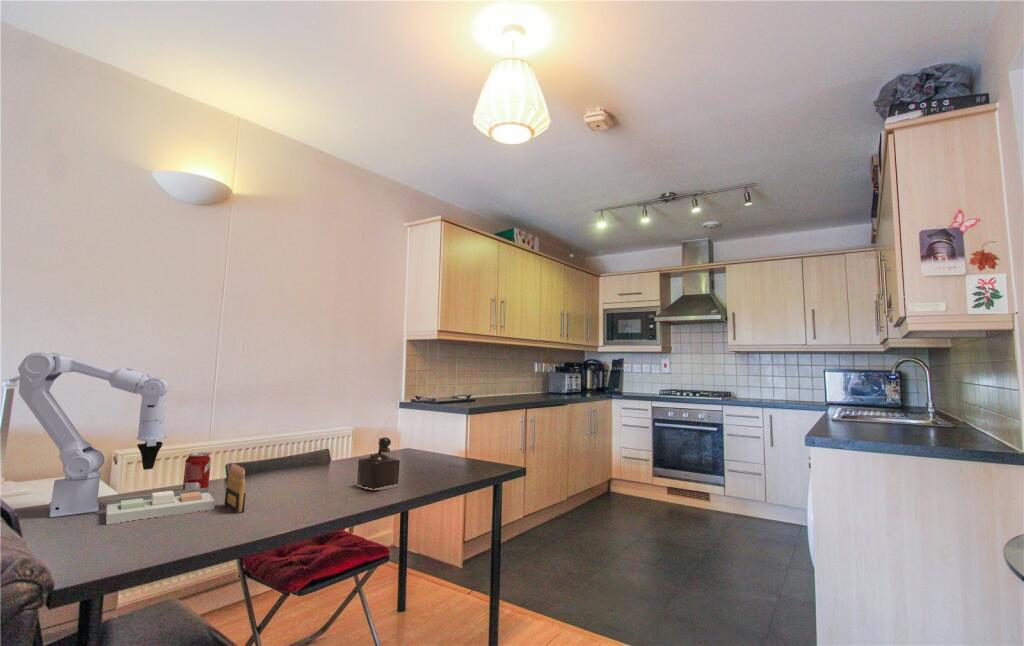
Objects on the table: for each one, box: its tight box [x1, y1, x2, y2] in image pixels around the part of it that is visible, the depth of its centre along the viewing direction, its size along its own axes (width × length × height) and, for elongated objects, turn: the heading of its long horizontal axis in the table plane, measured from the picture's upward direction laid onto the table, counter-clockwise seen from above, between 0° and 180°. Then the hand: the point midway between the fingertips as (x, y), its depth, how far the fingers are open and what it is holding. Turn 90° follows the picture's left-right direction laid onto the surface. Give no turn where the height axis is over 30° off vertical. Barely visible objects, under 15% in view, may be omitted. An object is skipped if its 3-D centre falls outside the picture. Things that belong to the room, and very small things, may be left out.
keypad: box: [105, 487, 216, 525], centre depth 129 cm, size 23×12×4 cm, turn 131°
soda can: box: [182, 452, 212, 491], centre depth 149 cm, size 7×7×12 cm
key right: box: [180, 492, 202, 502], centre depth 134 cm, size 5×5×3 cm
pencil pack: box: [223, 462, 246, 514], centre depth 134 cm, size 11×2×12 cm, turn 47°
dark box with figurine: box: [356, 436, 401, 489], centre depth 163 cm, size 16×11×18 cm
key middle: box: [151, 490, 174, 506], centre depth 130 cm, size 5×5×3 cm
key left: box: [120, 498, 144, 510], centre depth 125 cm, size 5×5×3 cm
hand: (148, 468), depth 134 cm, fingers closed
